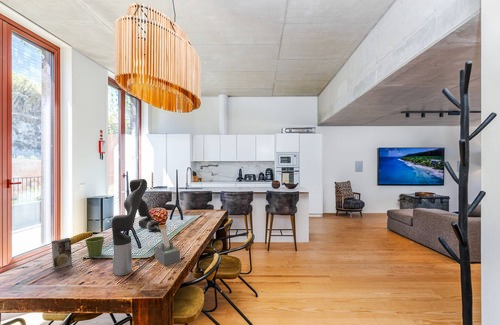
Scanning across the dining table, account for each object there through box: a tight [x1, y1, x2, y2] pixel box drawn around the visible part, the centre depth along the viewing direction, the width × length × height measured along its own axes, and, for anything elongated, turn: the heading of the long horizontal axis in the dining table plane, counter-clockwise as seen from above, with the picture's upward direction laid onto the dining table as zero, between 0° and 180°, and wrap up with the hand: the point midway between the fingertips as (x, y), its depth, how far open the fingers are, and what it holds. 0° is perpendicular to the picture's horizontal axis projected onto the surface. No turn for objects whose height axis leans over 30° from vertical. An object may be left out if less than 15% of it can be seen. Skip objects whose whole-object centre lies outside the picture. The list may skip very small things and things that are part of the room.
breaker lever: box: [159, 224, 170, 248], centre depth 165 cm, size 2×4×15 cm
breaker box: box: [154, 241, 181, 267], centre depth 163 cm, size 16×10×11 cm, turn 40°
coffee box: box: [51, 237, 73, 270], centre depth 157 cm, size 9×6×16 cm
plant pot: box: [84, 236, 106, 258], centre depth 173 cm, size 12×12×11 cm
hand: (162, 231), depth 168 cm, fingers closed
